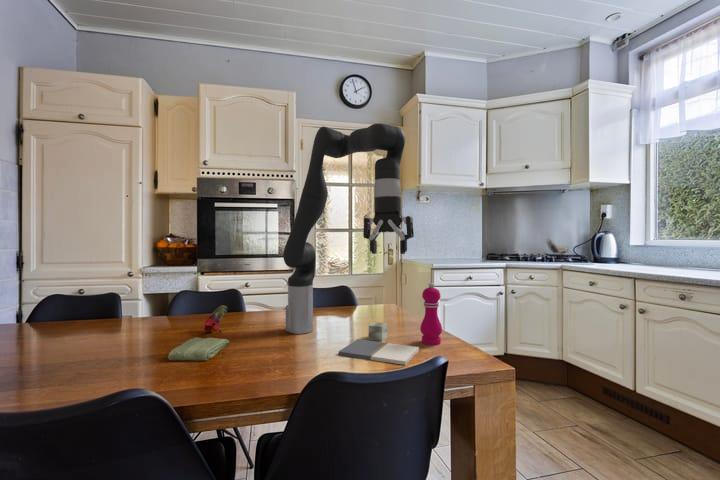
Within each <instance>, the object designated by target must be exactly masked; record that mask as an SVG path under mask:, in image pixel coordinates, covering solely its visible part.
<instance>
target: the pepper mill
mask: <svg viewBox="0 0 720 480" xmlns="http://www.w3.org/2000/svg"><path fill="white" fill-rule="evenodd" d="M421 296H422V300H423V307H424V309H425V310H424V311H425V312H424V317H423V319H422V320H421V321H422V322H421V324H420V329H419V330H420V333H421V334H422V336H421V343H422V344H424V345H429V346H435V345H436V346H437V345H440V344H441V343H442V342H441V341H442V340H441V339H442V338H441V336H440V335H441V334H442V333H443V327H442V324H441V321H440V319H439V316H438V308H439V307H440V305H439V303H440V302H439V301H440V299H441V292H440V290H439V289H438V288H436V287H435V284H434V283H433V282H430V283H428V287H426V288H424V290H423V291H422V294H421Z"/></svg>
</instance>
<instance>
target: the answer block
mask: <svg viewBox="0 0 720 480" xmlns="http://www.w3.org/2000/svg"><path fill="white" fill-rule="evenodd" d="M387 338H388V323H387V322H376V321H374V322H371V323H370V324H368V341H376V342H383V341H384V340H386V339H387Z"/></svg>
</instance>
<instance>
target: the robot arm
mask: <svg viewBox="0 0 720 480" xmlns="http://www.w3.org/2000/svg"><path fill="white" fill-rule="evenodd" d="M405 144H406V136H405V132H404V131H403V129H402V128H401V127H399V126H396V125H391V124H390V125H389V124H385V123H373V124H371V125H369V126H368V127H364V128H358V129H355V130H353V131H352V132H351V133H350V134H349V135H347V134H345V133H342V132H341V131H339V130H336V129H333V128H330V127H327V126H321V127H319V129H318V130H317V131H316V134H315V136H314V140H313V145H312V149H311V154H310V155H311V156H310V159H309V167H308V169H307V173H306V176H305V177H306V178H305V181H304V186H303V189H302V191H301V194H300V198H299V203H298V207H297V210H296V214H295V218H294V220H293V224H292V228H291V230H290V233H289V235H288V238H287V240H286V243H285V246H284V248H283V253H282V256H283V257H282V258H283V262H284V264H285V265H286V266H287V267H288V268H293V269H294V272H293V273H292V274H291V275H290V276H288V279H287V305H286V306H285V332H288V333H291V334H295V335H297V334H298V335H301V334H308V333H311V332H313V331H314V330H313V329H314V301H313V299H314V292H313V291H314V280H315V279H314V278H315V276H316V263H317V262H316V250H315V248H314V246H313V244H312V243H310V242H307V241H308V240H307V239H308V237H309V235H310V232H311V231H312V229H313V228H314V226H315V225H316V224H317V222H318V221H319V219H321V217H322V215H323V212H324V211H325V207H326V204H327V201H328V196H329V193H328V187H327V184H326V180H325V176H324V170H323V168H324V167H323V166H324V158H325V156H327V157H329V158H334V159H340V158H344V157H346V156H349V155H350V156H351V155H352V154H356V153H367V152H368V153H371V152H375V151H377V150H378V151H384V152H385V151H386V152H387V153H386V157H383V158H379V159H377V160H375V163H374V188H373V197H374V199H373V200H374V204H373V207H374V210H373V211H374V217H372V218H371V217H364V219H363V234H362V235H363V238H364V239H367V240H368V241H369V251H370V252H371V254H373V255H374V254H377V253H378V252H377V251H378V250H377V247H378V246H377V245H378V244H377V239H378V236H379V235H380V234H382V233H395V234H396V235H398V237H399V238H400V241H399V244H400V246H399V248H400V249H399V251H400V255H404V254H405V253H407V251H408V240H409V239H412V238H414V236H415V235H414V234H415V233H414V221H413V219H414V218H413V216H410V215H407V216H403V215H402V188H401V175H400V174H401V173H400V172H401V171H400V170H401V169H400V166H401V161H402V158H403V154H404V149H405ZM403 223H404V225H406V233H405V232H404V230H403V228H402V227H401V225H402V224H403ZM373 224H375V227H374V228H373V230H372V229H371V226H372V225H373ZM371 231H372V233H371Z"/></svg>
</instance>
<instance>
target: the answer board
mask: <svg viewBox="0 0 720 480" xmlns="http://www.w3.org/2000/svg"><path fill="white" fill-rule="evenodd" d="M419 351H420V346H414V345H413V346H412V345H404V344H398V343H397V344H396V343H390V342H388V341H386V342H383V341H377V340H369V339H368V340H367V339H359V338H358V339H356V340H354V341H352V342H351V343H349V344H348V345H346V346H345V347H343V348H342V349H339V351H338V355H339V356H345V357H351V358H357V359H365V360H372V361H376V362H377V361H378V362H384V363H391V364H397V365H403V366H406V365H407V364H408V363H409V362H410V360H412V358H413V357H414V356H416V354H417V353H418V352H419Z"/></svg>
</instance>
